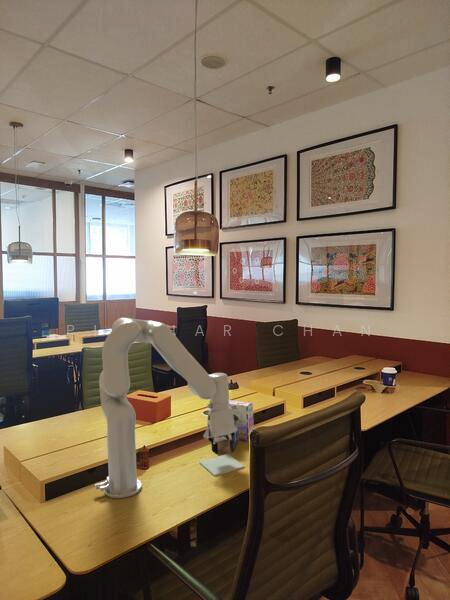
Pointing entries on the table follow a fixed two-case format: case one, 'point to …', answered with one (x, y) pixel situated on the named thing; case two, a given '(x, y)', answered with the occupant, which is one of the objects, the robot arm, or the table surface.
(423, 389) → the table surface
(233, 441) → the small box
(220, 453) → the cube
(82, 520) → the table surface
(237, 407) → the candy box
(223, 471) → the mat
